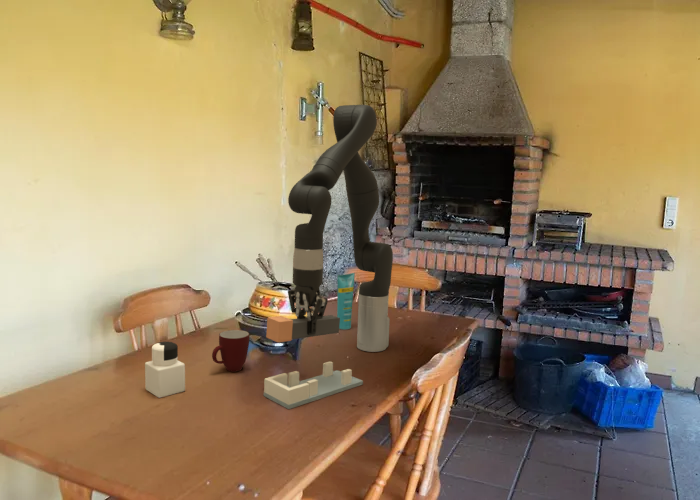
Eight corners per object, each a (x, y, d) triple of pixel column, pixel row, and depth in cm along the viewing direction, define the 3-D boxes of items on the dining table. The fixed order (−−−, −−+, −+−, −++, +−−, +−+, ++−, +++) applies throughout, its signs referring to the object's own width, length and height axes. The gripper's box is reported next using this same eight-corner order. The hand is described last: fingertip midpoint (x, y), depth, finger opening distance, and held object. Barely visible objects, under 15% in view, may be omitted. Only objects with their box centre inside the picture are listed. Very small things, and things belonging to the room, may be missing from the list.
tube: (341, 331, 202) (342, 276, 199) (331, 328, 205) (333, 273, 202) (356, 327, 207) (358, 273, 204) (346, 324, 211) (348, 271, 208)
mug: (224, 379, 155) (224, 342, 154) (205, 371, 161) (205, 335, 159) (254, 369, 163) (255, 334, 162) (236, 362, 169) (236, 328, 167)
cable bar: (328, 329, 159) (329, 310, 158) (340, 333, 155) (342, 314, 155) (266, 337, 145) (267, 317, 145) (278, 342, 142) (279, 321, 141)
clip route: (337, 373, 162) (337, 357, 162) (362, 384, 155) (363, 368, 155) (263, 395, 146) (263, 378, 145) (288, 409, 138) (289, 390, 138)
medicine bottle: (171, 382, 152) (171, 337, 150) (185, 391, 147) (185, 344, 145) (145, 389, 147) (144, 343, 145) (158, 398, 142) (157, 350, 140)
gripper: (338, 269, 145) (335, 337, 148) (302, 260, 156) (301, 324, 158) (314, 271, 140) (312, 342, 143) (279, 262, 151) (277, 328, 153)
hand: (306, 332), depth 150 cm, fingers closed on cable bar, 3 cm apart
